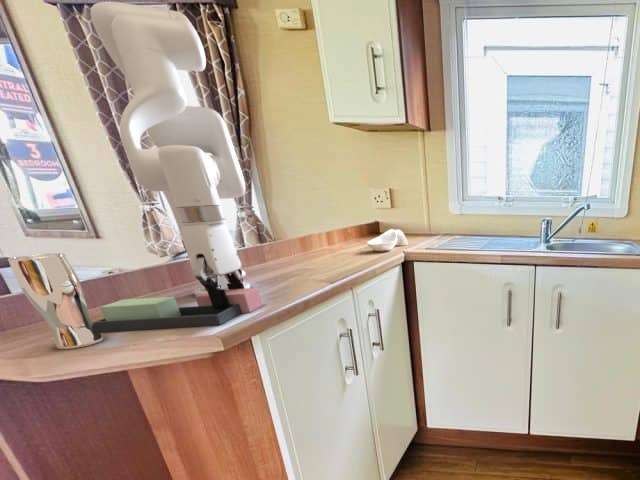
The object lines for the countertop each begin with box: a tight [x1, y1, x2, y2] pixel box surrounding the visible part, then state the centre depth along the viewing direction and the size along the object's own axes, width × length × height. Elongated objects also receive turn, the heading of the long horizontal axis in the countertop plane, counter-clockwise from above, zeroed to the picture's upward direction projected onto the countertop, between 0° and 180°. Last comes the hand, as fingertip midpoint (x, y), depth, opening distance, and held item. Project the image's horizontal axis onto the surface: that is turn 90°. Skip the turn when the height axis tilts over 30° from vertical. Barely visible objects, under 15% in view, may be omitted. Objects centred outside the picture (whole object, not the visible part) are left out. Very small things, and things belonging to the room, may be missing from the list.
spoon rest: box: [366, 229, 409, 253], centre depth 177 cm, size 24×12×7 cm, turn 167°
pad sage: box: [99, 296, 181, 321], centre depth 84 cm, size 6×10×4 cm, turn 95°
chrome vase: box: [7, 252, 104, 350], centre depth 71 cm, size 7×7×15 cm
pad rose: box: [194, 287, 263, 314], centre depth 91 cm, size 6×10×4 cm, turn 95°
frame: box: [92, 304, 243, 333], centre depth 85 cm, size 9×23×2 cm, turn 95°
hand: (231, 304), depth 91 cm, fingers open, 6 cm apart
